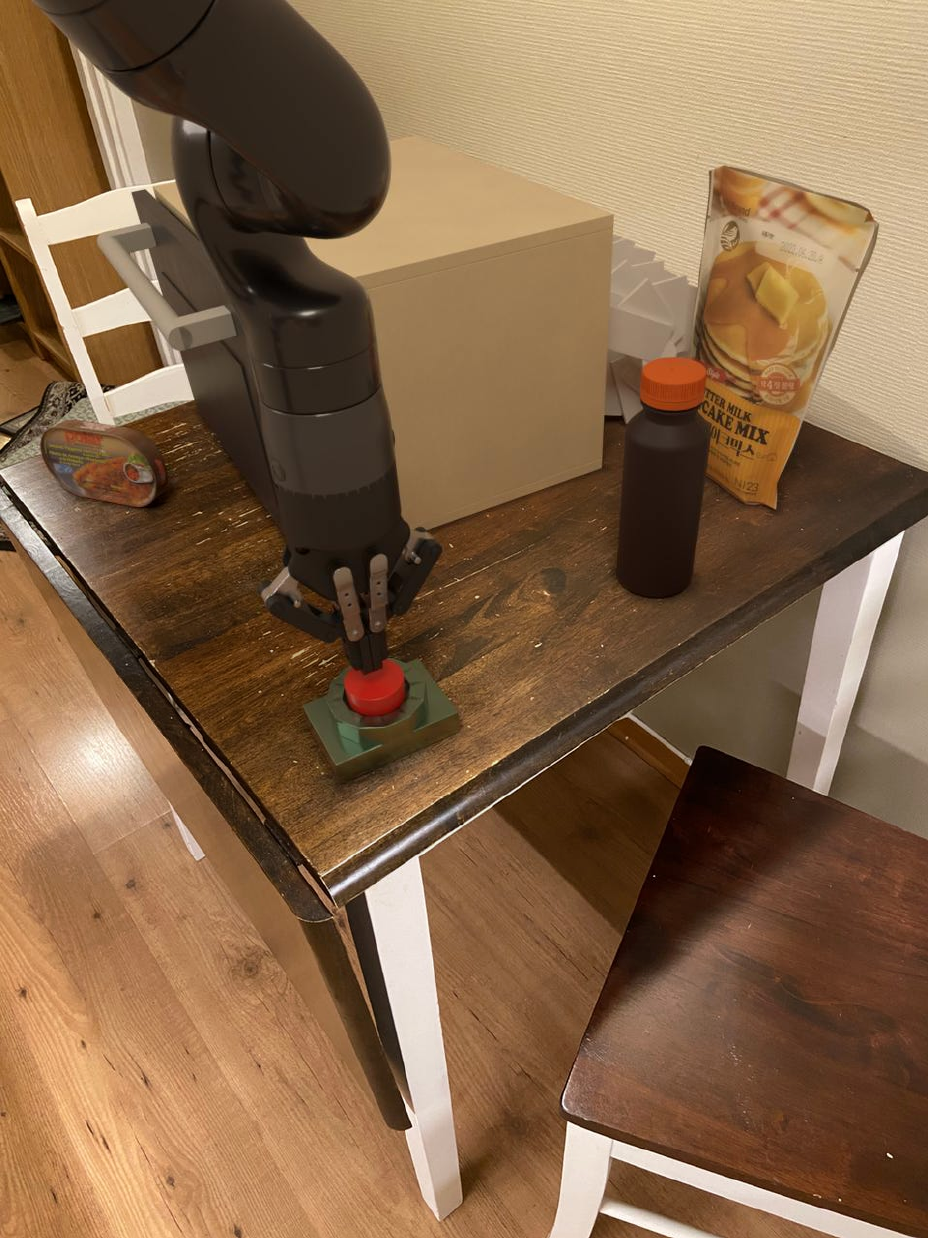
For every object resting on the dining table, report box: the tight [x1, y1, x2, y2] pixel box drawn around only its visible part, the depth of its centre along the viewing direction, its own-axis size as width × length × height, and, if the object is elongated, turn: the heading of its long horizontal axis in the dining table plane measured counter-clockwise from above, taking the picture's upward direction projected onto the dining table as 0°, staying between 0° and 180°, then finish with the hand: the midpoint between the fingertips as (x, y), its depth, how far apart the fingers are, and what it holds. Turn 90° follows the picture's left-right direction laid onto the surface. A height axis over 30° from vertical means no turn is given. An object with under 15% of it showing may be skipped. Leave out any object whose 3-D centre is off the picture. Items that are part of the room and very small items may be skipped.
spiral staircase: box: [604, 233, 698, 425], centre depth 103 cm, size 18×18×25 cm
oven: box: [152, 135, 615, 531], centre depth 95 cm, size 32×40×26 cm
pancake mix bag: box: [691, 165, 880, 510], centre depth 84 cm, size 7×19×28 cm, turn 24°
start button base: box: [301, 657, 461, 785], centre depth 67 cm, size 10×7×4 cm
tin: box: [39, 419, 169, 508], centre depth 94 cm, size 15×3×8 cm, turn 68°
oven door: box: [96, 188, 285, 537], centre depth 89 cm, size 7×40×26 cm, turn 28°
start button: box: [344, 659, 406, 716], centre depth 65 cm, size 4×4×2 cm
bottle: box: [615, 357, 711, 598], centre depth 74 cm, size 7×7×20 cm
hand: (368, 665), depth 64 cm, fingers closed
